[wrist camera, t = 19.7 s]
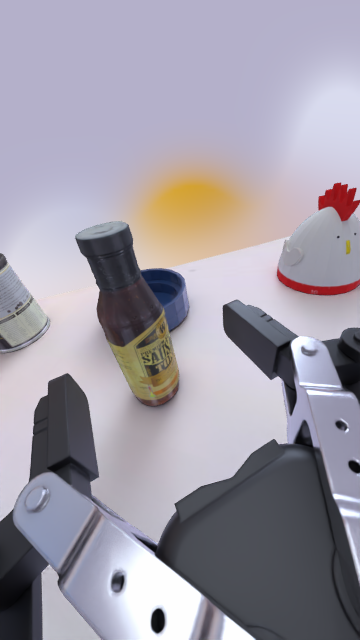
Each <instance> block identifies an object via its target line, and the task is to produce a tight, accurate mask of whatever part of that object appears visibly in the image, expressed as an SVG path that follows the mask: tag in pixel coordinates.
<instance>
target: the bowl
mask: <svg viewBox="0 0 360 640" xmlns="http://www.w3.org/2000/svg"><path fill="white" fill-rule="evenodd" d="M140 271H141V275H142V277H143V278H144V280H145V281H146V283H147V284H148V286H149V287H150V289H151V290H152V292H153V293H154V295H155V296H156V298H157V299H158V301H159V302H160V303H161V304H162V306H163V308H164V312H165V316H166V320H167V325H168V329H169V331H170V330H172V329H173V328H175V327H176V326H178V325H179V324H180V323H181V321H182V320H183V319H184V318H185V317H186V315H187V312H188V309H189V303H188V297H187V291H186V285H185V279H184V278H183V277H182V276H181V275H180V274H179V273H177V272H175V271H173V270H169V269H162V268H159V269H146V270H140Z"/></svg>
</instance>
